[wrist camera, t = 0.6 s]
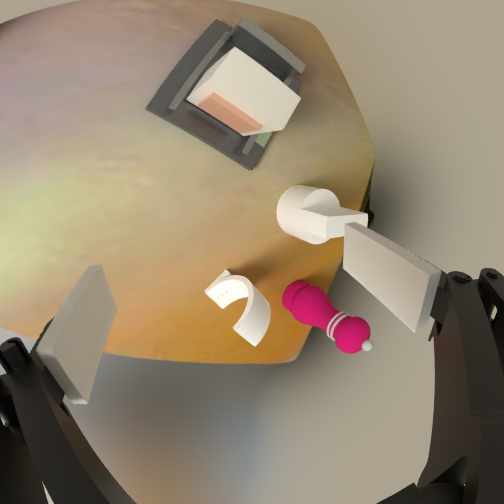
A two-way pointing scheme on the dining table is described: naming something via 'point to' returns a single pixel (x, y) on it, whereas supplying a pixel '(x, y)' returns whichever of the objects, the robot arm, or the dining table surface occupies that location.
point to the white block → (244, 95)
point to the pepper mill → (327, 317)
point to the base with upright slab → (314, 214)
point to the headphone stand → (256, 310)
